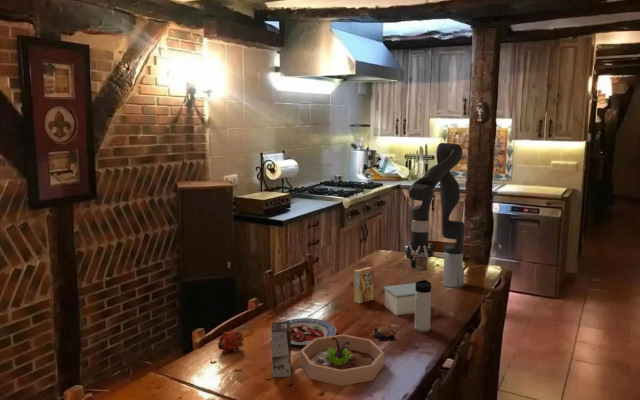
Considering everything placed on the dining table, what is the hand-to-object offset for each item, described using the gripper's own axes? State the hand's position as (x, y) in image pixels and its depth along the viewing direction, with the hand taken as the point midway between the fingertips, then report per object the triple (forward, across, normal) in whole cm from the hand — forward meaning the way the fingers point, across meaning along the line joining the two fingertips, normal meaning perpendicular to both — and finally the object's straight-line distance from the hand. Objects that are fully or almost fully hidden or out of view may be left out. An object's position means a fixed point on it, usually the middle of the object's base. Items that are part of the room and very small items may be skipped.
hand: (418, 267), depth 235 cm
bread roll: (+21, -27, -20) cm, 39 cm away
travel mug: (+20, -10, -20) cm, 30 cm away
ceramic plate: (+20, -56, -8) cm, 60 cm away
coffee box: (+20, -73, -33) cm, 83 cm away
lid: (+12, -4, +4) cm, 13 cm away
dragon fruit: (+20, -86, -12) cm, 90 cm away
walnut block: (+1, 0, 0) cm, 1 cm away
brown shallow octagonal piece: (+20, -52, -37) cm, 67 cm away
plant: (+21, -54, -38) cm, 69 cm away
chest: (+20, -4, +3) cm, 20 cm away
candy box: (+20, -18, +19) cm, 33 cm away
